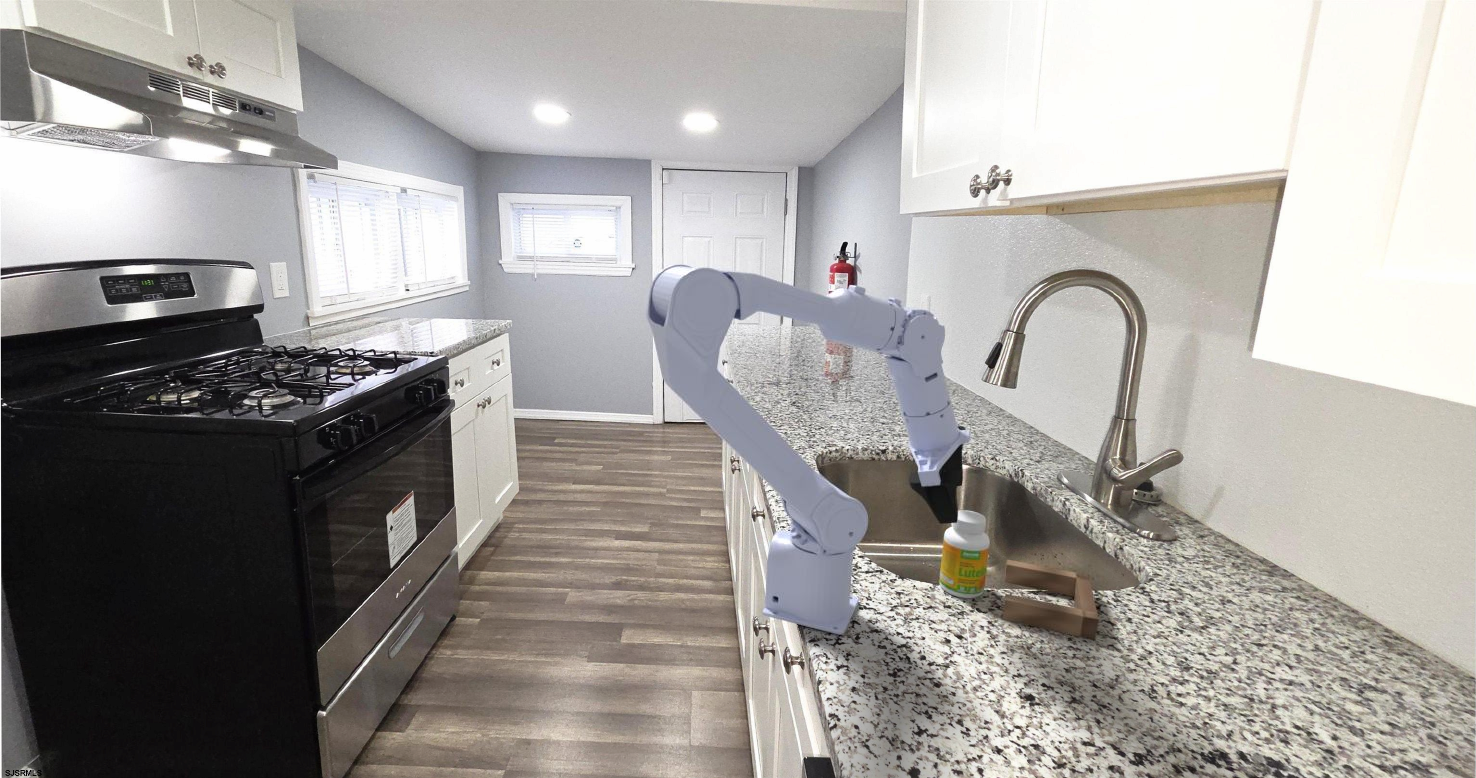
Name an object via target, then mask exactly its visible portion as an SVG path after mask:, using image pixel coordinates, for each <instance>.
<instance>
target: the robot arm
mask: <svg viewBox="0 0 1476 778" xmlns="http://www.w3.org/2000/svg"><path fill="white" fill-rule="evenodd" d="M866 290H867V289H866V288H865V287H862V286H858V285H854V284H853V285H852V284H850V285H849V286H848V288H844V287H839V288H836V289H835V290H833V291H831V292H830V293H829V294H827V295H823V294H820V293H816V292H814V291H810V290H806V289H805V288H801V287H798V286H794V285H792V284H789V283H785V282H783V281H779V280H775V279H774V278H770V277H768V276H763V275H762V274H757V273H751V272H744V271H735V270H727V269H725V270H724V269H716V268H711V267H692V266H690V265H687V264H681V263H680V264H679V263H678V264H672V265H669V266H668V265H667V267H664V268H663V269H661V270H660V271H659V272H658V273H657V274H656V275H655V277H654V278H653V280H652V281H651V285H650V287H649V292H648V293H649V294H648V300H647V304H646V305H647V306H646V312H645V316H646V318H647V321H648V324H649V326H650V329H651V331H652V336H653V341H654V345H655V350H656V355H657V360H658V363H659V368H660V372H661V376H662V379H663V381H664V383H665V384H666V385H667V387H669V389H671V391H672V392H673V393H674V394H676V395H677V397H679V399H681V400H682V401H683V402H684V403H685V404H686V405H687V406H688V407H689V408H690V409H691V410H692V411H693V412H694V413H695V414H696V415H697V416H698V417H699V418H700V419H701V420H702V421H703V422H704V423H705V424H706V425H708V427H709V428H711V430H713V432H715V433H716V435H718V436H719V437H720V439H722V440H723V441H724V442H725V443H726V444H727V445H728V446H729V447H730V448H731V449H732V450H733V451H734V453H736V454H737V455H738V456H739V457H740V458H741V459H742V460H743V461H744V462H745V463H746V464H747V465H748V466H749V467H751V469H752V470H753V471H755V473H757V475H758V476H759V477H761V478H762V480H763V481H765V482H766V483H767V485H768V486H770V487H771V489H772V490H773V491H774V492H775V494H777V495H778V497H779V498H780V500H781V504H782V507H783V509H784V512H785V514H786V515H787V517H789V518H790V519H791V520H790V521H791V523H790V530H777V531H776V532H775V534H774V535H773V537H772V539H771V542H770V544H769V549H768V553H767V558H766V578H765V600H764V601H765V603H764V608H763V610H762V615H763V616H765V617H768V618H772V619H776V620H781V621H785V622H787V623H792V624H796V625H800V626H804V627H807V628H811V629H812V628H813V629H815V630H820V631H824V632H827V633H831V634H836V635H841V636H842V635H843V634H844V633H845V632H846V630H847V628H848V626H849V624H850V621H851V619H852V617H853V615H854V613H855V610H856V608H857V606H858V604H859V598H858V597H856V596H853V595H851V588H852V587H851V586H852V577H853V576H852V575H853V574H852V573H853V562H854V561H853V559H854V551H855V550H856V547H857V545H858V544H859V543H861V541H862V540H863V538H864V536H865V535H866V532H867V531H868V527H869V515H868V512H867V508H865V505H864V504H863V503H862V502H861V501H859V500H858V499H857V498H854V497H852V496H850V495H848V494H847V493H845V492H844V491H843V490H841V489H840V488H838V487H837V486H836V485H834V484H833V483H831V482H830V481H829V480H828V479H827V478H826V477H825V476H824V475H823V474H821V473H819V472H817V471H816V470H814V469H813V467H812V466H810V464H809V463H807V462H806V460H804V458H803V457H802V456H801V455H800V454H799V453H798V452H797V451H796V450H795V449H794V448H793V447H792V445H790V444H789V443H788V442H787V441H786V439H784V437H782V435H780V434H779V432H778V431H777V430H776V429H775V428H774V427H773V426H772V425H771V424H770V423H769V422H768V421H767V420H766V419H765V417H763V416H762V415H761V414H760V413H759V412H758V410H756V409H755V408H754V407H753V405H752V404H751V403H750V402H749V401H748V400H747V399H746V398H745V397H744V396H743V395H742V393H740V392H739V391H738V390H737V389H736V388H735V387H734V386H733V384H731V382H729V381H728V379H726V378H725V376H724V375H723V374H722V373H721V372H720V371H719V369H718V365H719V357H720V352H721V351H720V350H721V347H722V344H723V343H724V339H726V336H727V334H728V331H729V329H730V327H731V325H732V323H733V320H734V319H735V320H737V321H738V320H739V321H743V320H746V319H748V318H749V317H751V316H753V315H755V314H756V313H758V312H761V313H764V314H765V313H766V314H769V315H770V314H771V315H775V316H779V317H783V318H787V319H792V320H797V321H800V322H805V323H809V324H815V325H817V327H818V329H819V331H820V333H821V335H822V336H823V338H824V339H825V340H827V341H829V342H832V343H837V344H841V345H845V346H850V347H851V348H852V347H853V348H858V349H859V350H860V349H862V350H865V351H868V352H871V353H872V352H874V353H877V354H879V355H883V354H884V355H886V356H885V360H886V363H887V367H888V370H889V371H888V372H889V374H890V378H891V381H892V385H893V389H894V392H895V396H896V399H897V402H898V406H899V410H900V413H901V417H902V421H903V424H904V427H905V430H906V434H907V438H908V441H907V442H908V443H907V444H908V447H909V451H910V452H911V453H910V454H911V455H912V457H913V460H914V461H915V464H916V466H917V468H918V469H917V470H918V471H910V473H909V476H908V483H909V486H910V488H911V489H912V490H913V491H914V492H916V493H917V494H918V495H919V496H920V497H921V498H922V499H923V500H924V502H926V504H927V505H928V507H929V508H930V510H931V512H932V514H933V515H934V517H935V518H936V520H937V521H938V523H939V524H941V525H943V524H944V525H946V524H951V523H957V520H958V510H959V505H958V495H957V494H958V493H957V492H958V490H957V489H958V487H962V486H963V480H964V471H963V470H964V468H963V467H964V466H963V446H964V444H969V443H970V442H971V436H972V435H971V432H970V430H969V429H967V428H966V427H964V426H963V425H958V424H957V421H956V416H955V412H954V409H953V405H952V400H951V395H950V393H949V388H948V384H947V380H946V377H945V372H944V368H943V365H942V364H944V360H943V356H942V349H943V346H944V343H945V339H946V328H945V325H943V324H940V322H939V320H938V318H936V317H934V316H935V315H934V314H933V313H932V312H930V311H928V310H926V309H920V308H916V307H915V308H914V307H907V306H903V305H902V300H901V299H898V298H894V297H888V299H887V300H886V299H882V298H879V297H875V296H872V295H869V294H866Z"/></svg>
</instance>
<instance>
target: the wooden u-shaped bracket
mask: <svg viewBox="0 0 1476 778" xmlns="http://www.w3.org/2000/svg"><path fill="white" fill-rule="evenodd" d="M1004 583H1006V584H1012V585H1017V586H1021V587H1026V588H1030V589H1036V590H1041V591H1046V592H1050V593H1056V594H1061V595H1065V596H1071V597H1073V601H1074V607H1071V606H1065V605H1062V604H1061V605H1060V604H1057V603H1052V602H1048V601H1042V600H1037V599H1032V598H1029V597H1028V598H1027V597H1023V596H1018V595H1014V594H1009V593H1005V594H1004V595H1005V596H1004V602H1003V611H1002V612H1003V613H1002V620H1005V621H1007V622H1012V623H1017V624H1021V625H1027V626H1031V627H1035V628H1040V629H1044V630H1048V631H1053V632H1057V633H1062V634H1067V635H1071V636H1074V637H1075V636H1076V637H1080V638H1085V639H1089V640H1094V641H1096V638H1097V632H1098V631H1097V630H1098V627H1099V626H1098V625H1099V616H1098V610H1097V606H1096V601H1095V597H1094V593H1093V587H1092V584H1091V578H1090V575H1089V574H1085V573H1080V572H1074V571H1069V570H1064V569H1059V568H1052V567H1049V566H1042V565H1037V564H1031V563H1027V562H1022V561H1017V560H1011V559H1006V563H1005V571H1004Z"/></svg>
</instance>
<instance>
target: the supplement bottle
mask: <svg viewBox="0 0 1476 778" xmlns="http://www.w3.org/2000/svg"><path fill="white" fill-rule="evenodd" d="M950 524H951V526H950V527H949V528H947V529H946V530H945V531H944V533H943V534H944V535H943V541H942V542H943V543H942V553H941V561H940V562H941V563H940V569H939V570H940V571H939V586H940V587H941V589H942V590H943V591H944V592H946V593H948V594H950V595H952V596H954V597H958V598H963V599H975V598H978V597H980V596H982V595H983V593H984V592H985V586H986V578H987V577H986V576H987V569H988V560H989V553H990V544H991V543H990V542H991V541H990V537H989V535H988V534H987V533H986V532H985V531H986V527H987V518H986V516H985V515H983V514H982V513H979V512H976V511H972V510H967V509H966V510H965V509H964V510H963V509H962V510H961V509H958V520H957V523H950Z"/></svg>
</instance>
